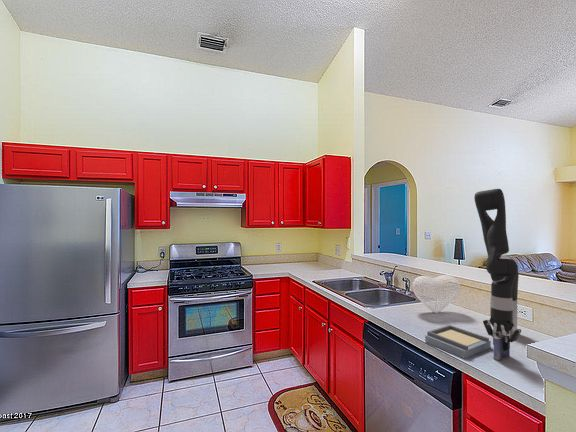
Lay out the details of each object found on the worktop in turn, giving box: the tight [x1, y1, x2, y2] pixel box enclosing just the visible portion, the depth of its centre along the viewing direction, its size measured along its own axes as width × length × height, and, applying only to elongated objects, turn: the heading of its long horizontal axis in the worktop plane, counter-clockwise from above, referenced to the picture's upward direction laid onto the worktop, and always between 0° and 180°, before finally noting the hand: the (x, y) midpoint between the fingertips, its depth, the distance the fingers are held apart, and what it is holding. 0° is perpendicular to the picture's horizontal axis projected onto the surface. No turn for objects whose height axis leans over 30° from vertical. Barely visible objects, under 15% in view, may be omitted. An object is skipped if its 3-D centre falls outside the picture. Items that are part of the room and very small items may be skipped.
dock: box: [424, 324, 492, 359], centre depth 134 cm, size 20×18×4 cm
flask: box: [493, 331, 511, 361], centre depth 122 cm, size 9×3×11 cm, turn 117°
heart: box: [411, 274, 461, 314], centre depth 177 cm, size 28×16×22 cm, turn 98°
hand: (501, 348), depth 122 cm, fingers closed on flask, 3 cm apart
